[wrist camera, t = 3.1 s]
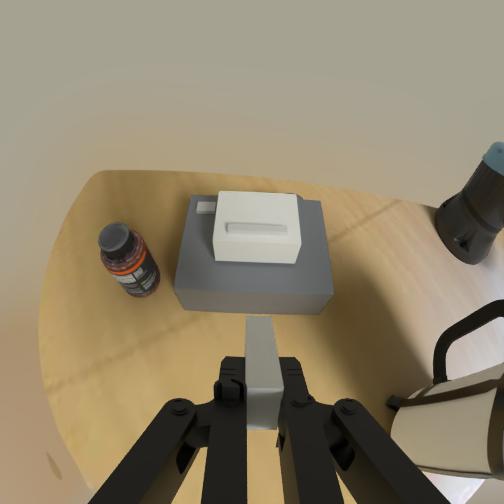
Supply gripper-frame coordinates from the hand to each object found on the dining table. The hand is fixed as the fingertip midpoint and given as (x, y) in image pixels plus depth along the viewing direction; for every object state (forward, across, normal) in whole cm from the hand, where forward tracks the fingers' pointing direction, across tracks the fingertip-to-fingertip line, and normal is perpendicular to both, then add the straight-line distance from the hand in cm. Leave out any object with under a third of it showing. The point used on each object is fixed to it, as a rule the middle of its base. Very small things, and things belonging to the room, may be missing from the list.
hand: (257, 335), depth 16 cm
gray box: (+24, 0, -1) cm, 24 cm away
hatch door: (+18, 0, +3) cm, 18 cm away
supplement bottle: (+21, -16, -5) cm, 27 cm away
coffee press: (+6, +23, -19) cm, 31 cm away
